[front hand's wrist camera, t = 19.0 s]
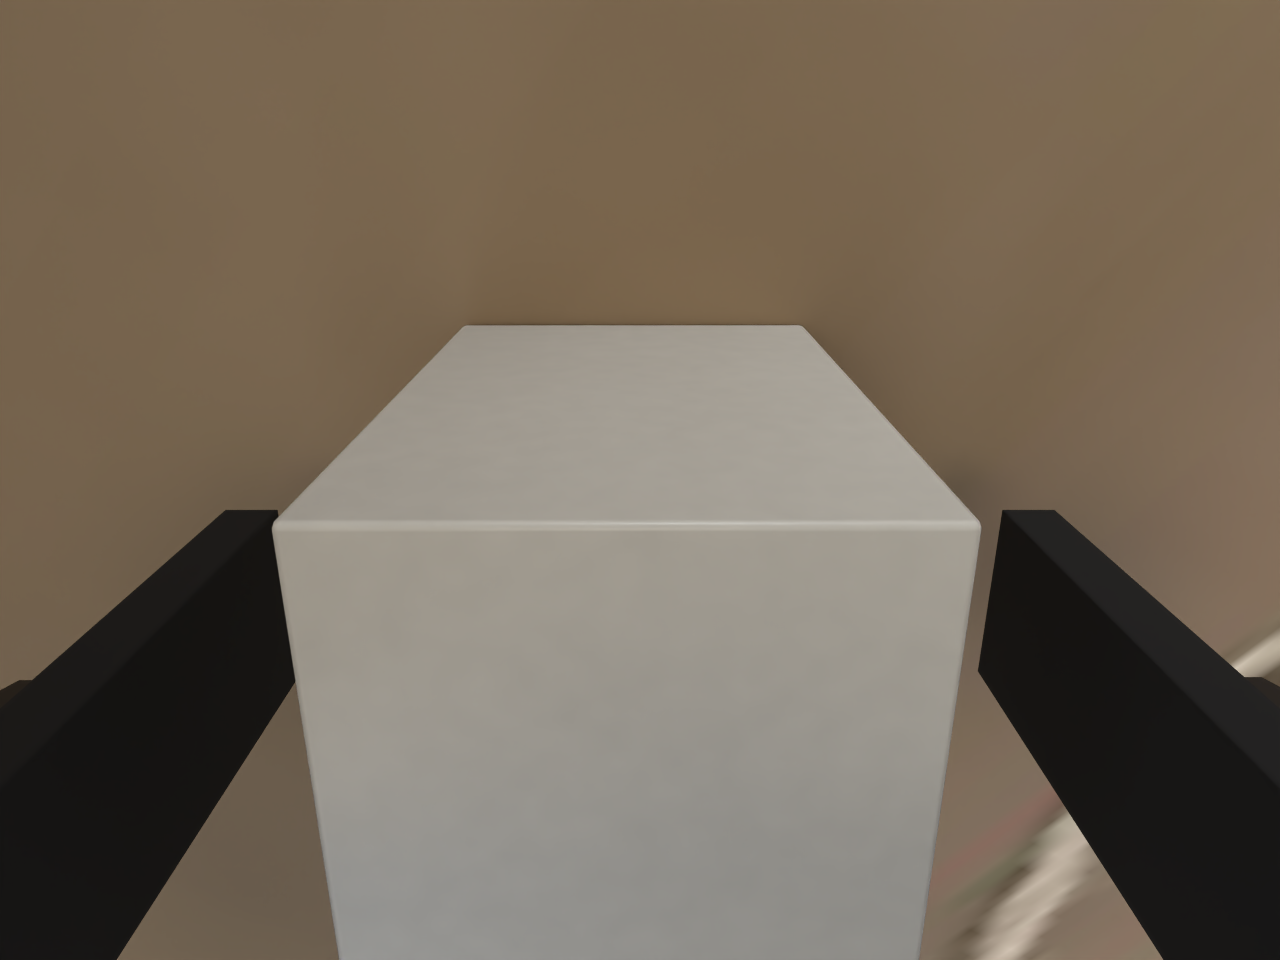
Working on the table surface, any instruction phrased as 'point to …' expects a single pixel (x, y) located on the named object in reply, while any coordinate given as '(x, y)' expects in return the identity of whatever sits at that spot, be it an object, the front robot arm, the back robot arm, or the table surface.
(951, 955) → the table surface
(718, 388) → the brick
